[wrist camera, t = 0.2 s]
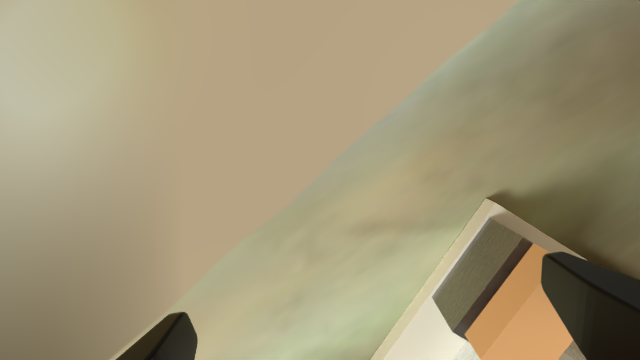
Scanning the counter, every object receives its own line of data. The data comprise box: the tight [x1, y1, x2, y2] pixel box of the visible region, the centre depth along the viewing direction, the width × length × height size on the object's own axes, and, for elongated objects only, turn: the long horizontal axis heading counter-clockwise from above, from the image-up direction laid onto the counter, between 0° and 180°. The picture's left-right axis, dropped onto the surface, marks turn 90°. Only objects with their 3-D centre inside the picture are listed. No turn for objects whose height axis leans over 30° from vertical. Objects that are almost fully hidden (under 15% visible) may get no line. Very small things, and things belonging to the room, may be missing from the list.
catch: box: [464, 243, 573, 360], centre depth 17 cm, size 6×3×3 cm, turn 148°
